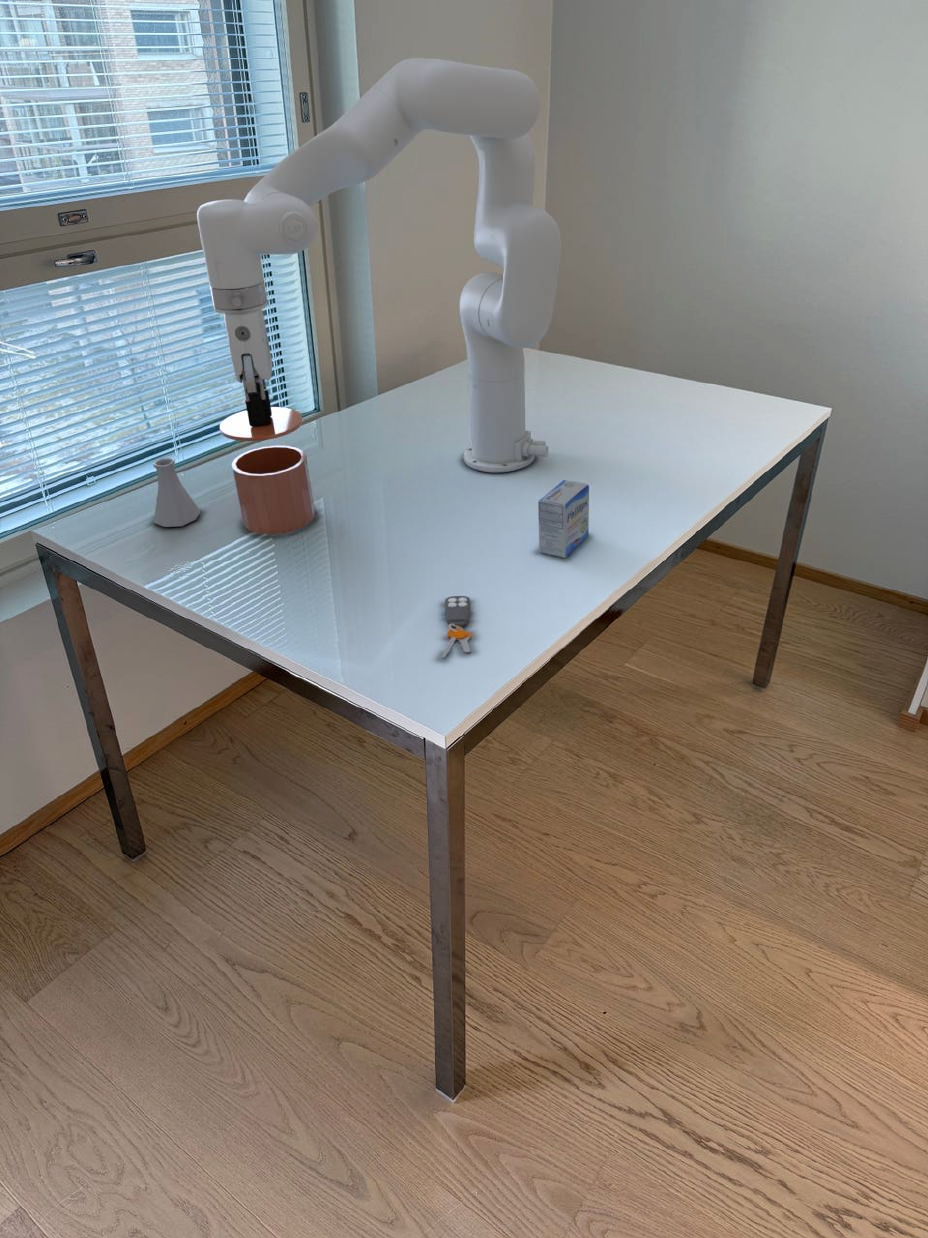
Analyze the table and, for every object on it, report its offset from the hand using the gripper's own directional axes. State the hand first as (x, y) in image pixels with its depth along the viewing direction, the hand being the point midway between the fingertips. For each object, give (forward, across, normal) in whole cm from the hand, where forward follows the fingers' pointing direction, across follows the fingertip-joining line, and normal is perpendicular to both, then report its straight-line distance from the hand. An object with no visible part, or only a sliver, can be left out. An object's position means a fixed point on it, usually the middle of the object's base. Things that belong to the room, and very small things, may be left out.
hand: (261, 419), depth 143 cm
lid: (+1, 0, 0) cm, 1 cm away
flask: (+17, +5, +17) cm, 25 cm away
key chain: (+17, -38, -24) cm, 48 cm away
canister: (+17, 0, 0) cm, 17 cm away
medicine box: (+17, -19, -42) cm, 49 cm away
